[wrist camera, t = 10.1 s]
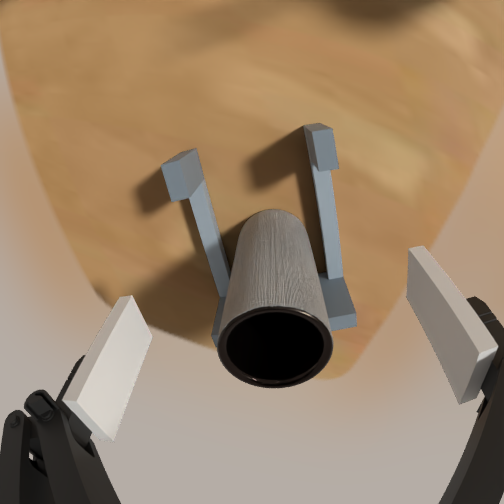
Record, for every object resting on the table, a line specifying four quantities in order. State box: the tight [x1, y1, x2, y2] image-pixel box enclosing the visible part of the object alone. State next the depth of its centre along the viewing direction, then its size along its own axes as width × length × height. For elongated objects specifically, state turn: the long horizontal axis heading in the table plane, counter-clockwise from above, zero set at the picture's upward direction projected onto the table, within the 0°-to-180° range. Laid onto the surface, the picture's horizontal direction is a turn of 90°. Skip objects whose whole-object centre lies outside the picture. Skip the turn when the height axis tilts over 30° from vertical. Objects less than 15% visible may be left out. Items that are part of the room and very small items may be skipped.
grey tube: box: [217, 209, 333, 388], centre depth 17 cm, size 4×4×10 cm
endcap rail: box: [161, 123, 357, 347], centre depth 18 cm, size 11×8×5 cm
